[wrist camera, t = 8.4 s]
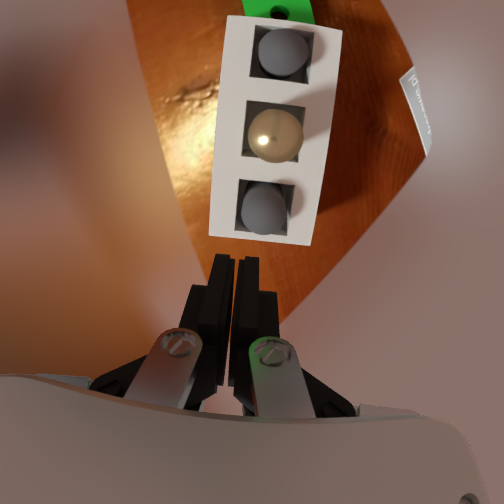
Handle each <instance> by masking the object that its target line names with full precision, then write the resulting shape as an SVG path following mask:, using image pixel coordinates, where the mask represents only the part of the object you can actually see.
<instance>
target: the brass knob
mask: <svg viewBox="0 0 504 504" xmlns="http://www.w3.org/2000/svg"><path fill="white" fill-rule="evenodd" d="M303 140H304V133H303V129H302V126H301V124H300V122H299V121H298V120H297V119H296V118H295V117H294V116H293V115H292V114H290V113H288V112H286V111H283V110H277V109H267V110H264V111H262V112H260V113H259V114H258V115H256V117H255V118H254V119H253V121H252V123H251V125H250V127H249V131H248V141H249V145H250V147H251V149H252V151H253V152H254V153H255V155H256V156H258V157H259V158H260V159H262V160H264V161H266V162H270V163H283V162H286V161H288V160H290V159H292V158H293V157H295V156H296V155H297V154H298V152H299V151H300V149H301V147H302V145H303Z"/></svg>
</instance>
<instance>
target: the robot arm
mask: <svg viewBox="0 0 504 504" xmlns="http://www.w3.org/2000/svg"><path fill="white" fill-rule="evenodd" d="M234 268H235V259H230V255H226V254H216V255H215V258H214V262H213V266H212V270H211V273H210V277H209V281H208V285H207V286H204V285H194V284H193V285H192V287H191V290H190V293H189V296H188V299H187V302H186V305H185V308H184V311H183V314H182V317H181V321H180V324H179V327H178V328H173V329H170V330H166V331H165V332H164V333H162V334H161V335H160V336H159V337H158V338H157V340H156V342H155V343H154V345H153V347H152V348H151V350H150V352H149V353H148V354H147V355H145V356H143V357H141V358H139V359H137V360H135V361H132V362H130V363H128V364H126V365H123V366H121V367H119V368H117V369H115V370H112V371H110V372H108V373H106V374H104V375H101V376H100V377H98V378H96V379H95V380H90V379H89V377H77V376H64V375H63V376H62V375H52V374H37V375H35V376H34V375H26V374H5V375H0V504H490V503H489V498H488V494H487V490H486V486H485V482H484V479H483V476H482V473H481V470H480V467H479V464H478V461H477V459H476V456H475V454H474V451H473V449H472V447H471V445H470V443H469V441H468V439H467V438H466V436H465V435H464V433H463V432H462V431H461V430H460V428H459V427H457V426H456V425H454V424H453V423H451V422H448V421H446V420H443V419H440V418H435V417H430V416H424V415H420V414H418V413H417V412H415V411H412V410H407V409H398V408H388V407H379V406H372V405H364V404H360V405H359V407H357V406H353V405H352V404H351V403H350V402H349V401H348V400H346V399H345V398H343V397H342V396H341V395H339V394H338V393H336V392H335V391H333V390H332V389H331V388H329V387H328V386H326V385H325V384H323V383H322V382H321V381H319V380H318V379H316V378H315V377H313V376H312V375H311V374H309V373H308V372H307V371H305V370H304V369H302V368H301V366H300V363H299V360H298V357H297V354H296V351H295V349H294V347H293V346H292V345H291V344H290V343H289V342H288V341H286V340H284V339H281V338H280V334H279V318H278V302H277V292H271V291H259V257H249V256H245V260H241V259H239V267H238V275H237V283H236V291H235V299H234V307H233V316H232V325H231V315H232V300H233V284H234ZM230 325H231V339H230V358H229V376H228V386H231V387H234V394H233V395H234V397H236V398H237V399H238V400H239V401H240V402H241V403H242V412H243V416H236V415H225V414H214V413H207V412H202V410H203V408H204V404H205V399H206V398H208V397H210V396H211V395H213V394H215V393H216V392H217V385H221V386H223V383H224V375H225V366H226V358H227V357H226V356H227V350H228V341H229V333H230Z"/></svg>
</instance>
